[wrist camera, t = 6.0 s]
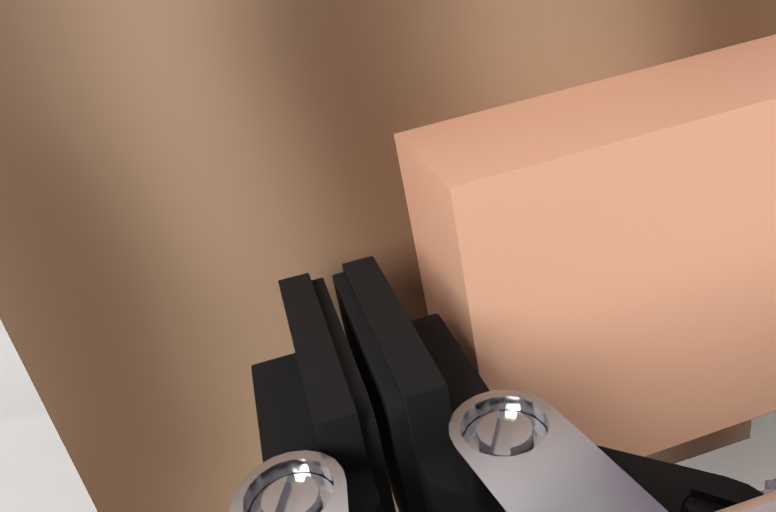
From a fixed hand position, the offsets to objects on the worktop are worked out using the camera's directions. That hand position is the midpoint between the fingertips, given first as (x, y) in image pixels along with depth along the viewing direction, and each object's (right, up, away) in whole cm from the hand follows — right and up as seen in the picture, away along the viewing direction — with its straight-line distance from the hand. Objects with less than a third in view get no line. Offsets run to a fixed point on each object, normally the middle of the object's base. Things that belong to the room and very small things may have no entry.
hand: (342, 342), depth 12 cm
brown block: (+1, +3, +5) cm, 6 cm away
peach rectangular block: (+6, +2, +2) cm, 6 cm away
